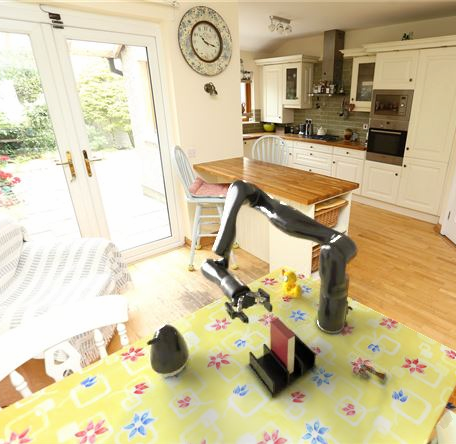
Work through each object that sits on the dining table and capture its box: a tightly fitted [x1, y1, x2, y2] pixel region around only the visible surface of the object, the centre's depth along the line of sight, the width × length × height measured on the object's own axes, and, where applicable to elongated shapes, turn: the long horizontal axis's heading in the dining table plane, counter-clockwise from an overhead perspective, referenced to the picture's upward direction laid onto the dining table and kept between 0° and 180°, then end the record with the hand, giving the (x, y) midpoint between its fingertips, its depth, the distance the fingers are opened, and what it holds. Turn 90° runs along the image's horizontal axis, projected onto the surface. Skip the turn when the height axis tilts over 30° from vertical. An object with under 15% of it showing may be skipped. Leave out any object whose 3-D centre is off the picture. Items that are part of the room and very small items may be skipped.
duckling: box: [281, 269, 303, 299], centre depth 114 cm, size 11×5×10 cm, turn 39°
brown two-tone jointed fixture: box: [355, 362, 388, 383], centre depth 82 cm, size 2×8×4 cm, turn 81°
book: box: [269, 317, 296, 374], centre depth 82 cm, size 3×8×14 cm, turn 37°
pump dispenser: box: [146, 323, 190, 378], centre depth 81 cm, size 10×10×15 cm
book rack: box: [248, 330, 317, 398], centre depth 84 cm, size 16×12×6 cm
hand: (259, 315), depth 89 cm, fingers open, 8 cm apart
